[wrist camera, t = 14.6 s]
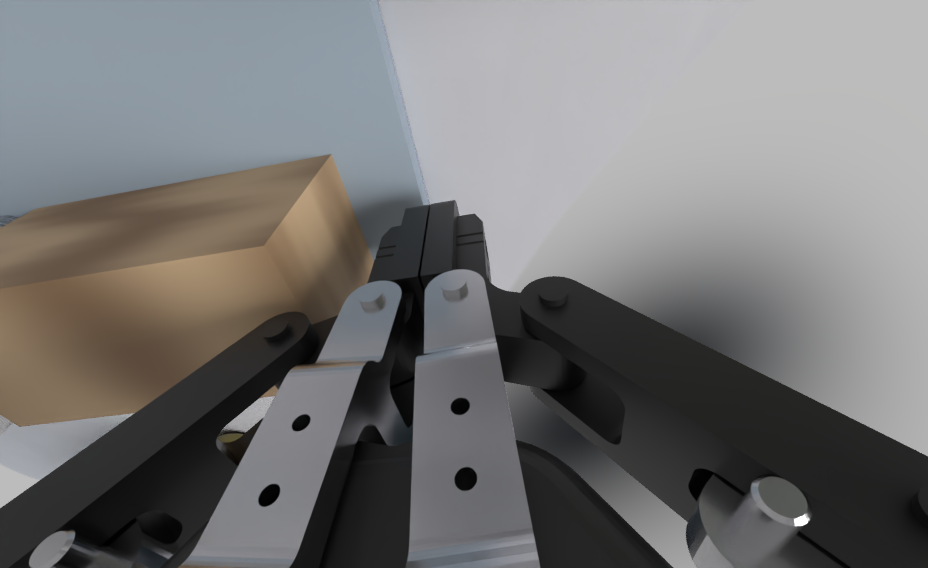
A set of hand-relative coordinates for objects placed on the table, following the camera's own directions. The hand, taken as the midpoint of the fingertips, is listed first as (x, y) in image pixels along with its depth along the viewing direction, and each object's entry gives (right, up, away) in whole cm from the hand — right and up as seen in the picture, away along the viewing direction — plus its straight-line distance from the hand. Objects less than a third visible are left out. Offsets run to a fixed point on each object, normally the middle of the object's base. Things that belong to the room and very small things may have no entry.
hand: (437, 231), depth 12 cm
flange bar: (-8, 0, +1) cm, 8 cm away
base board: (-8, 0, +3) cm, 9 cm away
